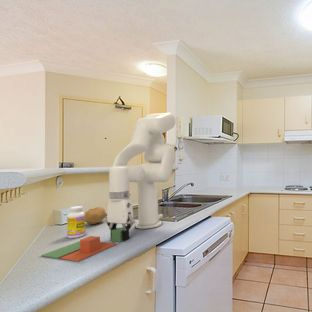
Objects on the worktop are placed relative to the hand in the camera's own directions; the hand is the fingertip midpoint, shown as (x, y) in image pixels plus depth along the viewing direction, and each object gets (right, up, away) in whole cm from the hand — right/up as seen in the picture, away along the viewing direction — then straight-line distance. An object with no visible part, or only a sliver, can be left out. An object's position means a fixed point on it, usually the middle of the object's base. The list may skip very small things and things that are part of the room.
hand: (119, 238), depth 97 cm
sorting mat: (-9, 0, -11) cm, 14 cm away
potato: (-26, -2, +26) cm, 37 cm away
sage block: (0, 0, 0) cm, 0 cm away
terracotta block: (-5, 0, -12) cm, 13 cm away
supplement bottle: (-22, -1, +6) cm, 23 cm away
